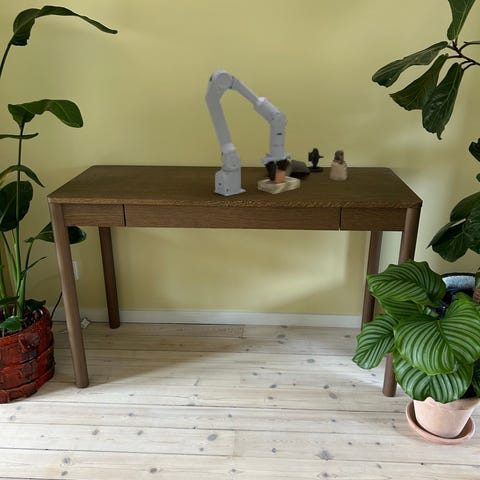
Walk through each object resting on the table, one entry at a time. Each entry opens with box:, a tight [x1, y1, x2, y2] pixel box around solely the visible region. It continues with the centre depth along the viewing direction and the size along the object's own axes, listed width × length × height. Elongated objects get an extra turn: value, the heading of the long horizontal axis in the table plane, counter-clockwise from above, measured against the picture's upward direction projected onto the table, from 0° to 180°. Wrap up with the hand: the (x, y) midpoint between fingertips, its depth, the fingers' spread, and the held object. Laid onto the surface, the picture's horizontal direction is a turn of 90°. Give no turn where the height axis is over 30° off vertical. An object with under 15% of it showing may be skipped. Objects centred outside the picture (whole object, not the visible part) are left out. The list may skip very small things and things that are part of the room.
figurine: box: [329, 149, 348, 182], centre depth 200 cm, size 7×7×12 cm
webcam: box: [307, 147, 325, 173], centre depth 214 cm, size 8×8×10 cm
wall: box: [264, 153, 311, 177], centre depth 206 cm, size 19×10×17 cm
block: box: [270, 168, 285, 184], centre depth 187 cm, size 4×4×7 cm
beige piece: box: [257, 176, 301, 195], centre depth 189 cm, size 14×9×3 cm, turn 130°
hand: (276, 179), depth 187 cm, fingers closed on block, 4 cm apart
